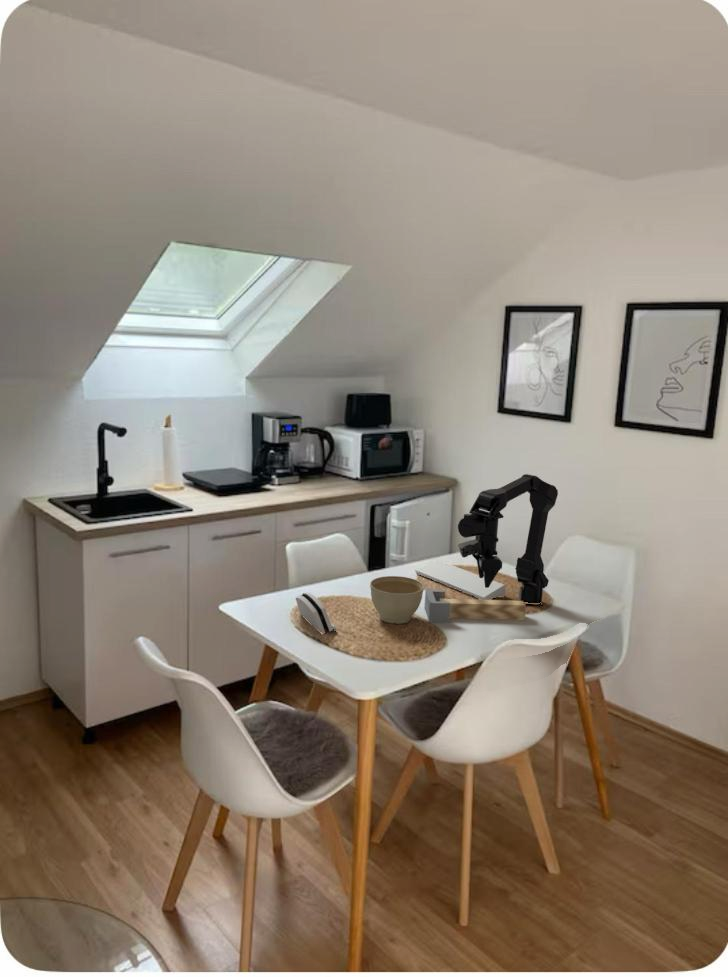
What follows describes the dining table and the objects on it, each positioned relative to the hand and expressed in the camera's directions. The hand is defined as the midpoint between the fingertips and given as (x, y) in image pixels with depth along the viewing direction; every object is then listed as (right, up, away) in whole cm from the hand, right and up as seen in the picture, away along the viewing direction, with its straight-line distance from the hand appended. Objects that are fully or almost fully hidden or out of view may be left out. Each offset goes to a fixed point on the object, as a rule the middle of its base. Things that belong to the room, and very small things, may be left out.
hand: (483, 582), depth 230 cm
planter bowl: (-27, -11, -3) cm, 29 cm away
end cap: (-14, -10, +2) cm, 18 cm away
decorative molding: (-4, -6, +31) cm, 32 cm away
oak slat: (0, -11, +2) cm, 11 cm away
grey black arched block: (-51, -11, -10) cm, 53 cm away
